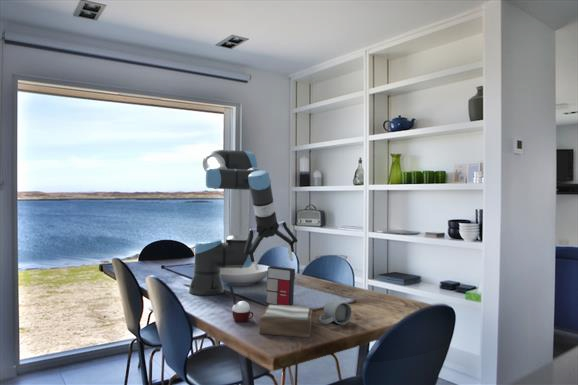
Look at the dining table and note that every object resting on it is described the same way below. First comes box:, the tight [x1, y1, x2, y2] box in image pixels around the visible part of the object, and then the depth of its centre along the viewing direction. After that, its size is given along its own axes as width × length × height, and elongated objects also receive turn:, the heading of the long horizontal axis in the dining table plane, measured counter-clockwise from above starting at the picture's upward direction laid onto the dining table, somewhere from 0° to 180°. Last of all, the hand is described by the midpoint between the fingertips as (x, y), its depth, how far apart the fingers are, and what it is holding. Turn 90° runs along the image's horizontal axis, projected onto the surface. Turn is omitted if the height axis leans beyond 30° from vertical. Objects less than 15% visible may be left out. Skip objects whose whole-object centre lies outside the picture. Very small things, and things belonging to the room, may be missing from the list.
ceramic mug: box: [318, 299, 353, 325], centre depth 147 cm, size 11×8×8 cm
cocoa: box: [228, 283, 254, 323], centre depth 145 cm, size 10×6×12 cm, turn 48°
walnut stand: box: [259, 304, 313, 338], centre depth 138 cm, size 16×16×6 cm
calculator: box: [266, 265, 296, 306], centre depth 168 cm, size 11×4×15 cm, turn 62°
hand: (274, 263), depth 157 cm, fingers open, 13 cm apart
